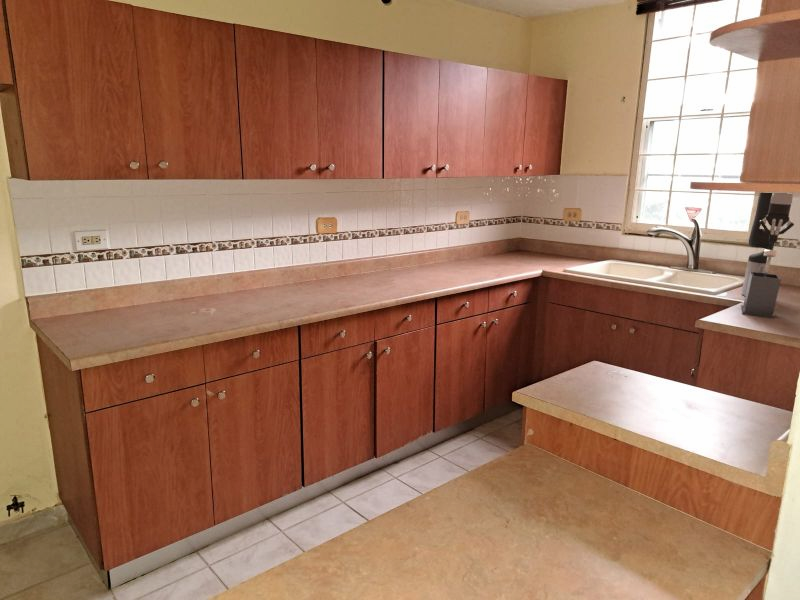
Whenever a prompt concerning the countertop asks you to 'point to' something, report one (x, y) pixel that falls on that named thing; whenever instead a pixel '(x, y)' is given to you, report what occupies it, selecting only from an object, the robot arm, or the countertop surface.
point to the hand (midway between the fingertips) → (772, 243)
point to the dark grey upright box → (761, 295)
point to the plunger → (768, 259)
